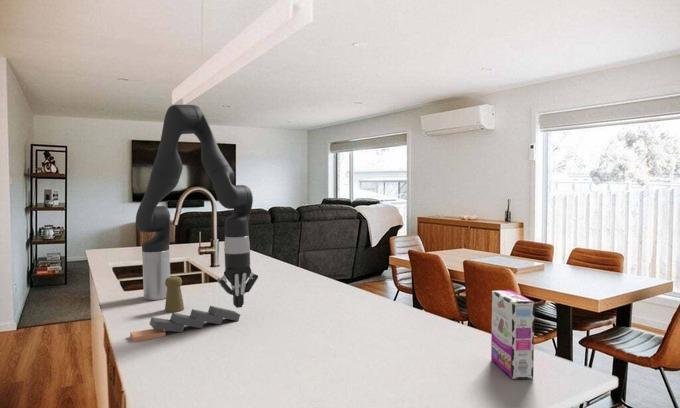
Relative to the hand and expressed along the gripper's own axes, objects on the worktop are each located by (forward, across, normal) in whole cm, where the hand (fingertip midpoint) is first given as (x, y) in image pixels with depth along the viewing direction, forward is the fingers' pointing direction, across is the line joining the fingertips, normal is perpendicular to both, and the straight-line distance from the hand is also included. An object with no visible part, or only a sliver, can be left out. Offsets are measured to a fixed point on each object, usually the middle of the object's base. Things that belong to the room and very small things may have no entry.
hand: (238, 306), depth 142 cm
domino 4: (+3, -1, 0) cm, 3 cm away
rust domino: (+4, -23, 0) cm, 23 cm away
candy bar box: (+4, +32, -73) cm, 80 cm away
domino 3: (+3, -6, 0) cm, 7 cm away
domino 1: (+3, -18, 0) cm, 18 cm away
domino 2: (+3, -12, 0) cm, 12 cm away
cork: (+4, -13, +22) cm, 26 cm away
